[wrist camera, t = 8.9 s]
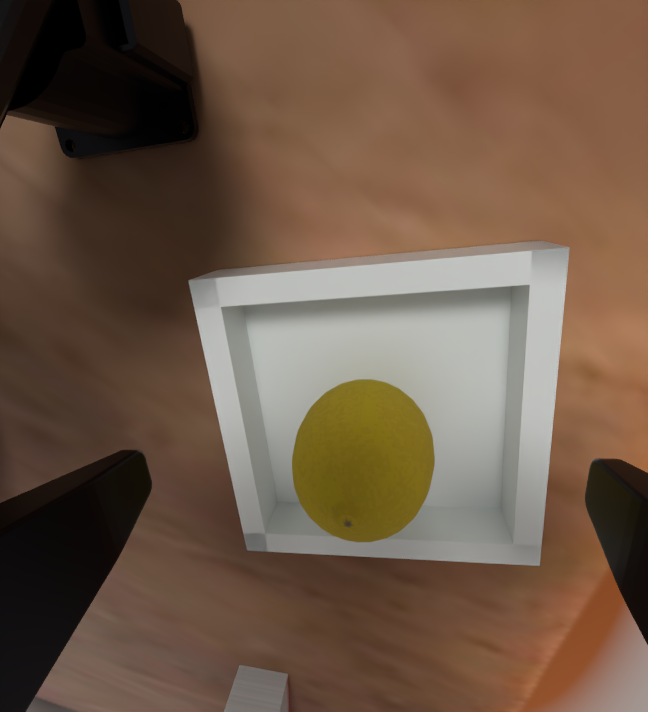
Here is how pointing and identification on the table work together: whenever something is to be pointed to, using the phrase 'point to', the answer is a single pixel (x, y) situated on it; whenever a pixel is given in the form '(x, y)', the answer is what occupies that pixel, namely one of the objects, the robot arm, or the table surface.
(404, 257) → the dish
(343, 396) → the lemon
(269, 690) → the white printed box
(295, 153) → the table surface
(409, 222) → the table surface
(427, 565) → the table surface
